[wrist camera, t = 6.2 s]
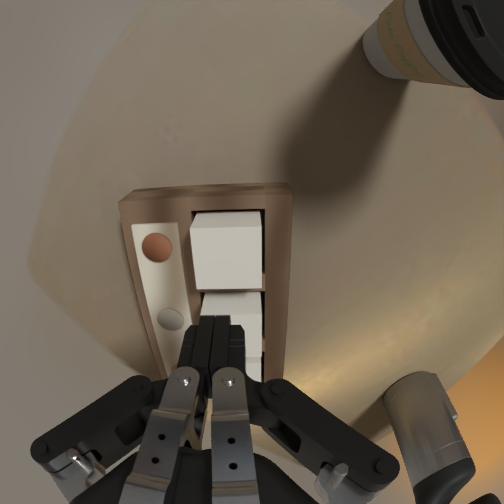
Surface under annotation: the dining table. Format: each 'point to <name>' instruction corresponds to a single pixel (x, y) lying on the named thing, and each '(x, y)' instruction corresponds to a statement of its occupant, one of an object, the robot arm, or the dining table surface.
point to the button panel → (182, 268)
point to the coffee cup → (441, 43)
